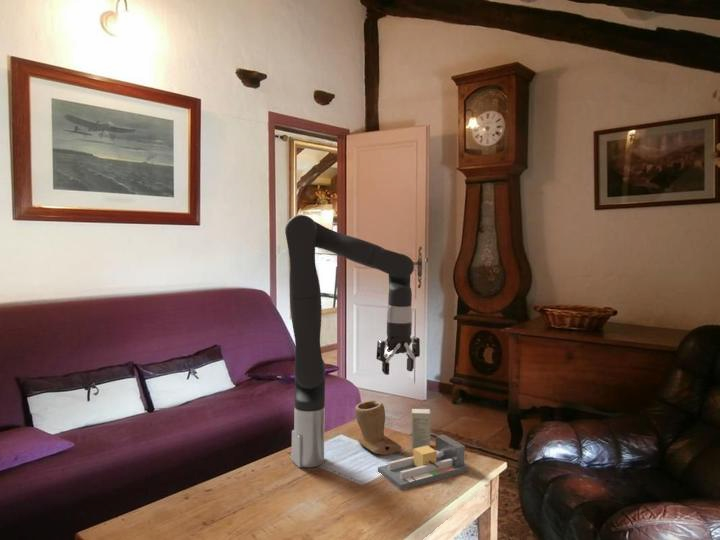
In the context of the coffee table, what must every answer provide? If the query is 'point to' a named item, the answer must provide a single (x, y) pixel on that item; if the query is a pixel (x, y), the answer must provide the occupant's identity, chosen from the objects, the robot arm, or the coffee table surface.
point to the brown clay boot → (374, 428)
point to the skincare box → (420, 428)
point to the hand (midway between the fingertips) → (397, 372)
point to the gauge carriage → (426, 456)
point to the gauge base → (418, 472)
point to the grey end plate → (451, 450)
